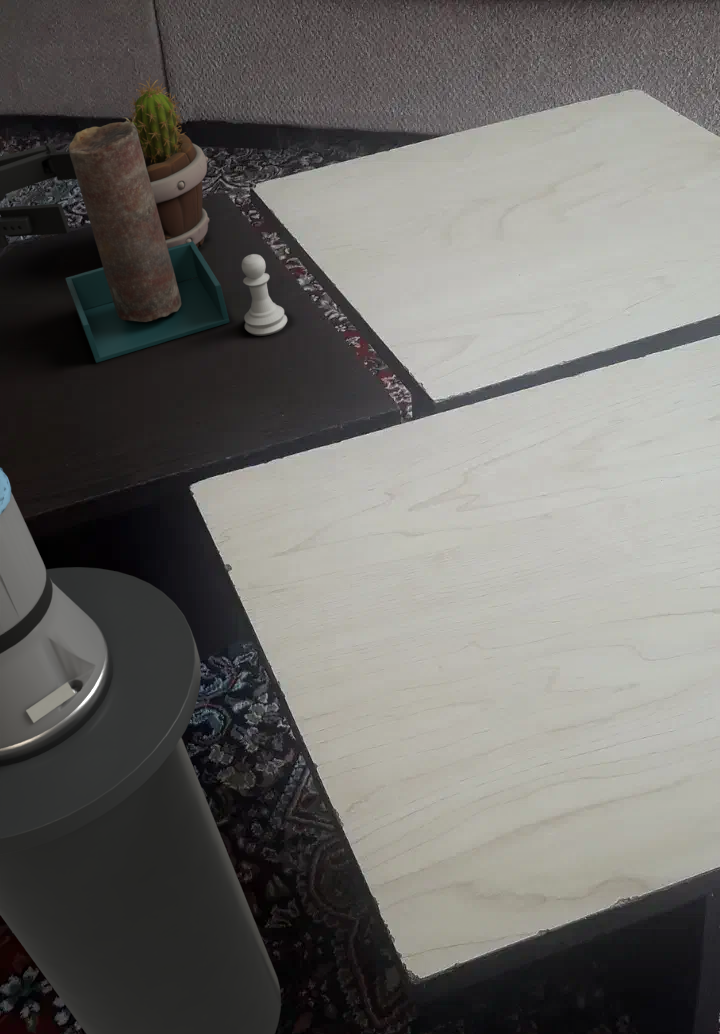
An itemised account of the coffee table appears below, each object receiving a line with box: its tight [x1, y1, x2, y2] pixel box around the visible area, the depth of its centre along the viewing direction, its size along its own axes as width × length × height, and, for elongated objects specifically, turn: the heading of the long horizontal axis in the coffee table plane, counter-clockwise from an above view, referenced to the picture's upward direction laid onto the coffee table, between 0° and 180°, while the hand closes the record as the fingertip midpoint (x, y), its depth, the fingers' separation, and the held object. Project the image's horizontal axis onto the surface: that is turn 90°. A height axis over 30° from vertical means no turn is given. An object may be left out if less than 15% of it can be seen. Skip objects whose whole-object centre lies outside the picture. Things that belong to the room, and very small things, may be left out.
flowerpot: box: [122, 74, 210, 249], centre depth 126 cm, size 14×15×20 cm
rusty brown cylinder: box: [68, 121, 182, 322], centre depth 113 cm, size 8×7×20 cm
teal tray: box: [65, 241, 230, 364], centre depth 120 cm, size 17×15×4 cm
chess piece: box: [241, 253, 288, 337], centre depth 113 cm, size 5×5×8 cm
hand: (88, 189), depth 110 cm, fingers open, 13 cm apart
